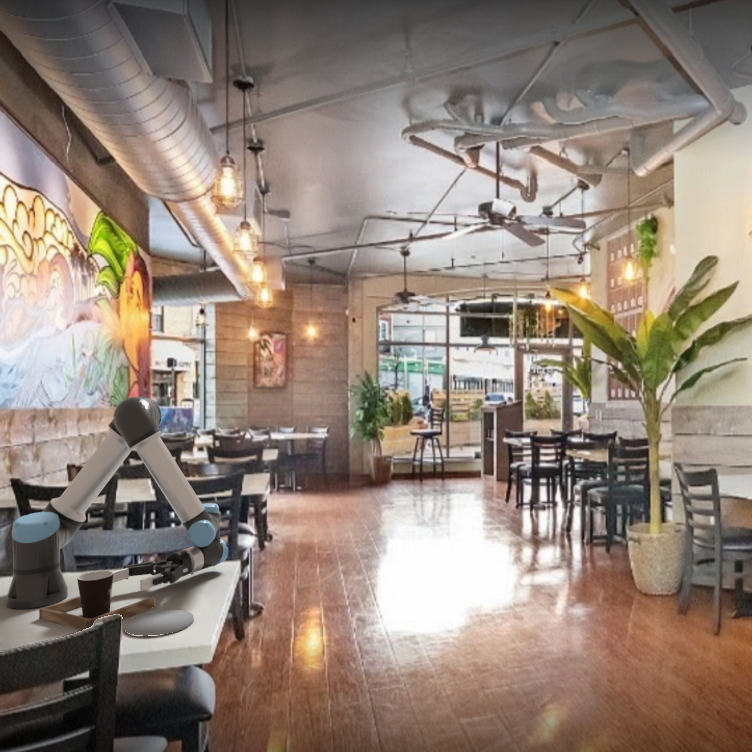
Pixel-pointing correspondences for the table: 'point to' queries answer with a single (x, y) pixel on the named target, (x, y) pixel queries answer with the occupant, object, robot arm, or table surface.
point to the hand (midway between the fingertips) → (124, 582)
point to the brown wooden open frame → (58, 616)
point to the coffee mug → (95, 593)
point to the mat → (159, 622)
